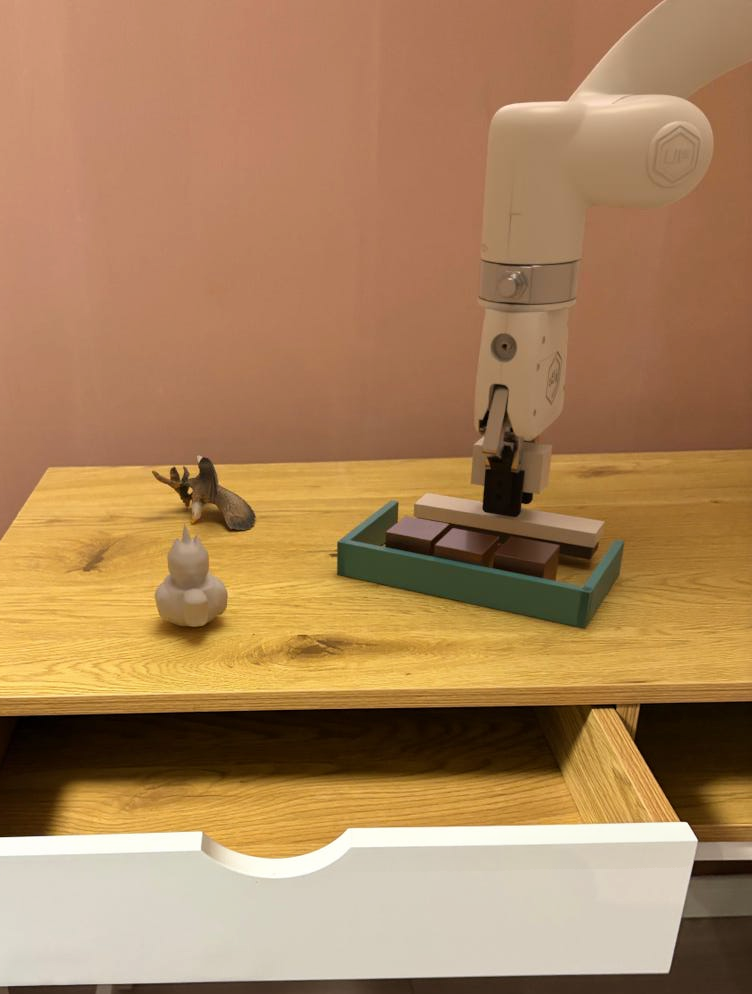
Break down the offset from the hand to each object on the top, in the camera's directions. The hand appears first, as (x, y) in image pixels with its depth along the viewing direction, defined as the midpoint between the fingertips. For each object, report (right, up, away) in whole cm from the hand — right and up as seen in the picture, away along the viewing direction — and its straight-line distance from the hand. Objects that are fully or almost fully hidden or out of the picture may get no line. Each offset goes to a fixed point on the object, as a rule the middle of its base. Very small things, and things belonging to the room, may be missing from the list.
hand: (507, 505), depth 84 cm
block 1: (-8, -6, -2) cm, 10 cm away
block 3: (0, -8, -6) cm, 10 cm away
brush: (0, -3, +2) cm, 3 cm away
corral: (-3, -6, -2) cm, 7 cm away
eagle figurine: (-26, 0, +10) cm, 28 cm away
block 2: (-5, -7, -5) cm, 10 cm away
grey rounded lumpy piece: (-26, -11, -9) cm, 30 cm away
